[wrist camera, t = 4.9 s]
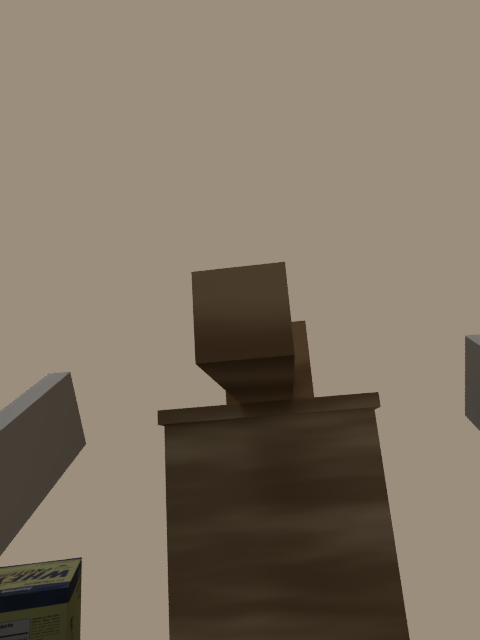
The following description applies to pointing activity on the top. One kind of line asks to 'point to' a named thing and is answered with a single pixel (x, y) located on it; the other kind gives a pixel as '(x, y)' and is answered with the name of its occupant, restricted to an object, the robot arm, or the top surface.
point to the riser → (280, 522)
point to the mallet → (250, 334)
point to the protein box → (41, 601)
